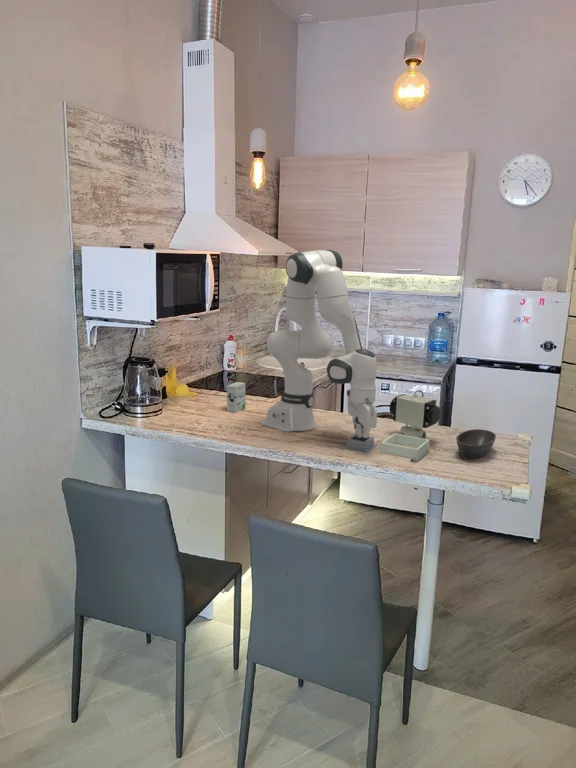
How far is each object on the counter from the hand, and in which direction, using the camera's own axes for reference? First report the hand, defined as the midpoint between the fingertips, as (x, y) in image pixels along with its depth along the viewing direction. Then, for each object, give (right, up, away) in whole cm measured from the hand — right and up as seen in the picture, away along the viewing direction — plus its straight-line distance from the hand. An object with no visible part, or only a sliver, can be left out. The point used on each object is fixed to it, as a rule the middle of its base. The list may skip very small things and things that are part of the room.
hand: (360, 433), depth 208 cm
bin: (+15, -7, -2) cm, 17 cm away
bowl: (+41, -8, -1) cm, 41 cm away
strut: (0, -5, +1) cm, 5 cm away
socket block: (0, -6, +1) cm, 6 cm away
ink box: (-49, +6, +50) cm, 71 cm away
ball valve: (+22, -4, +15) cm, 27 cm away
